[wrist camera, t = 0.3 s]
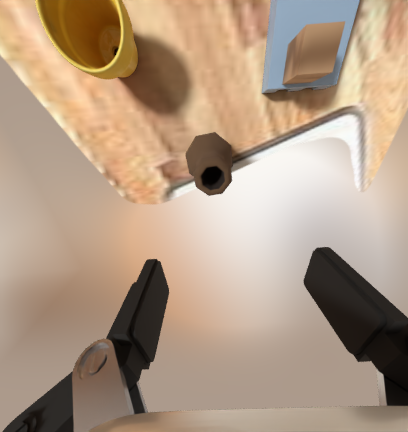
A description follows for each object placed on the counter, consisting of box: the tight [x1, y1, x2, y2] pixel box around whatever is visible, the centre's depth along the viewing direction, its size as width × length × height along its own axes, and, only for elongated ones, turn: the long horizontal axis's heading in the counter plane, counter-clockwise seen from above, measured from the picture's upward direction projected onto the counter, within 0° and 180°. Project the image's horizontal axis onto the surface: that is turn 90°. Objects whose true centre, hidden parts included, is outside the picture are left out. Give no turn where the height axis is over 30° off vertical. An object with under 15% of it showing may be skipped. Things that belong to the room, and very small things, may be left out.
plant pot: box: [35, 0, 138, 79], centre depth 23 cm, size 10×10×10 cm
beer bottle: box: [186, 132, 233, 196], centre depth 24 cm, size 8×8×24 cm
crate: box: [282, 21, 346, 85], centre depth 23 cm, size 5×5×5 cm
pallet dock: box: [262, 0, 360, 93], centre depth 24 cm, size 16×12×3 cm
